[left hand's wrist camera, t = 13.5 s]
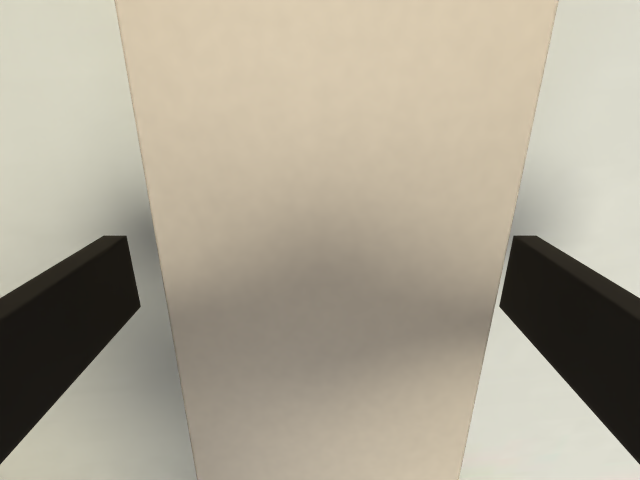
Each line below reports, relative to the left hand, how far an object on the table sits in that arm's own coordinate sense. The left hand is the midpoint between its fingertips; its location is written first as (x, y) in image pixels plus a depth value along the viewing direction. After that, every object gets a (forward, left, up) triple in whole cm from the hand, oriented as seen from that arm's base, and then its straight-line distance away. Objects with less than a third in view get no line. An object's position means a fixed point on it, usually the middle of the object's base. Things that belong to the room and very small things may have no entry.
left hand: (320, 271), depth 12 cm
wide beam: (+16, +17, -4) cm, 23 cm away
